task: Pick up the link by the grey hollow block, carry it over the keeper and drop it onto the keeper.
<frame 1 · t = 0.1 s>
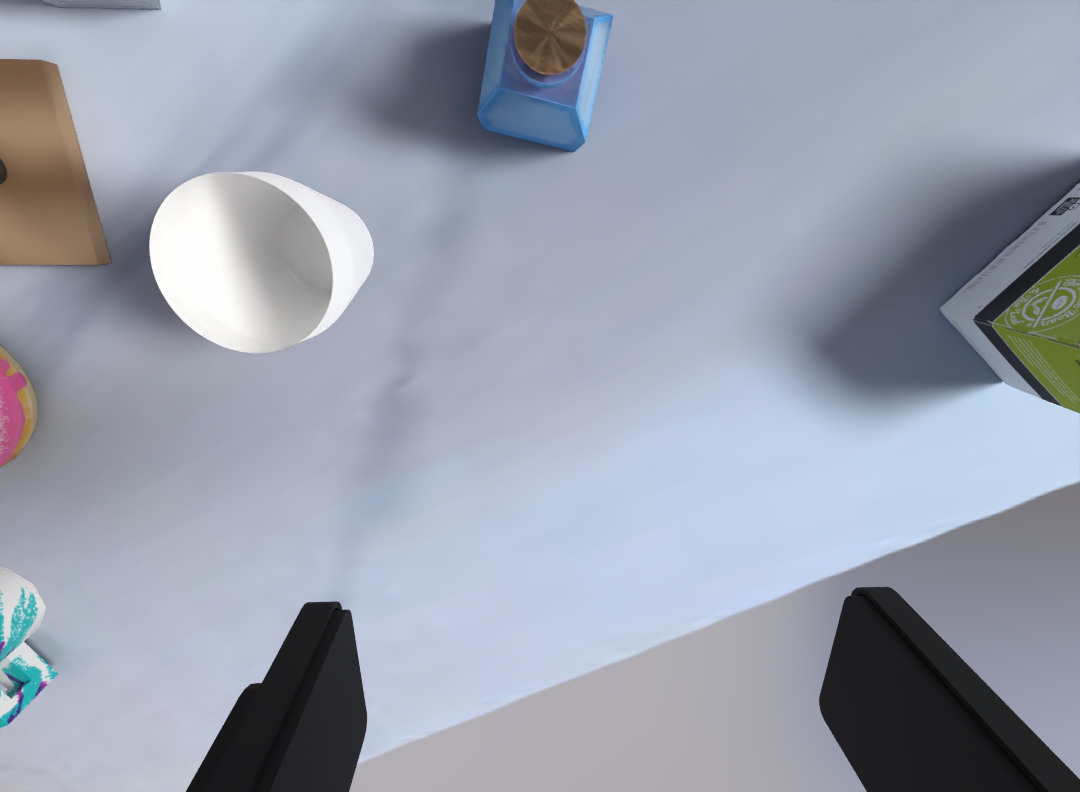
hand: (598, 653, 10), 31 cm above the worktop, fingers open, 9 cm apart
perfume bottle: (539, 90, 34), on the worktop
mug: (15, 616, 47), on the worktop
keeper: (7, 169, 34), on the worktop
tea box: (1046, 275, 40), on the worktop
cup: (327, 248, 37), on the worktop
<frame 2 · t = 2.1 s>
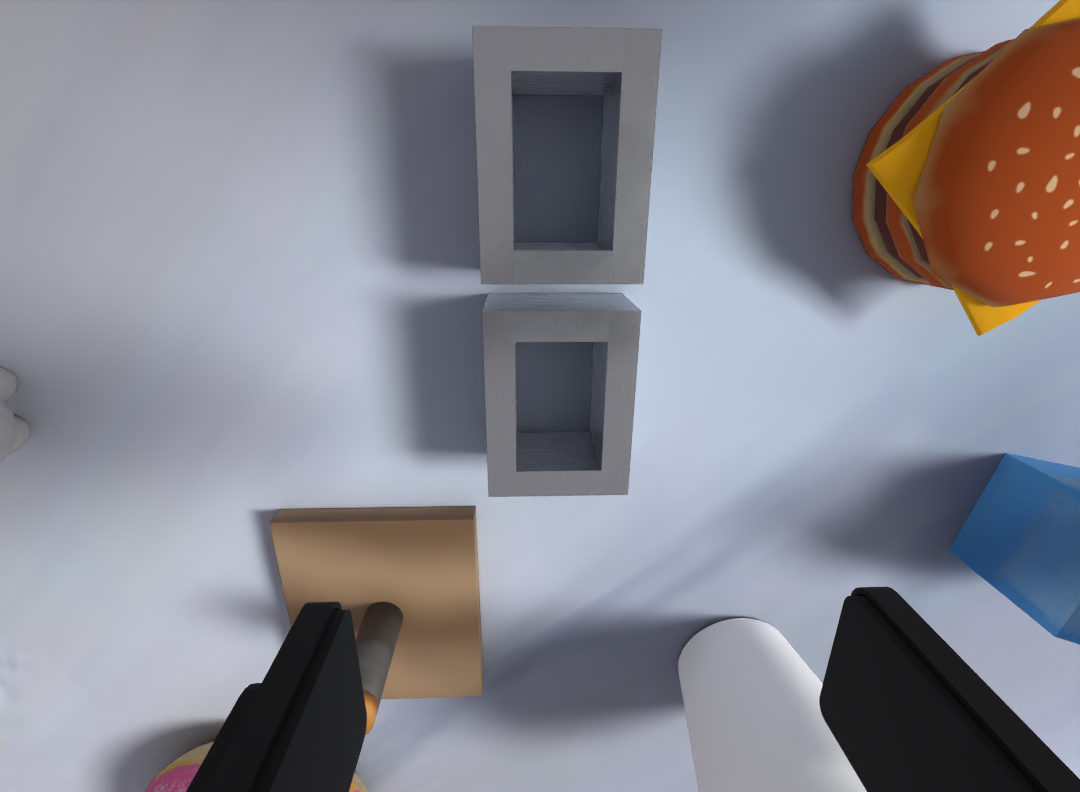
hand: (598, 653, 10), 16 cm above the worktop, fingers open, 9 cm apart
perfume bottle: (1022, 510, 29), on the worktop
grey hollow block: (557, 172, 22), on the worktop
donut: (275, 781, 34), on the worktop
hamburger: (950, 174, 22), on the worktop
link: (554, 377, 25), on the worktop
keeper: (389, 600, 29), on the worktop
figurine: (21, 400, 24), on the worktop
cup: (730, 656, 32), on the worktop
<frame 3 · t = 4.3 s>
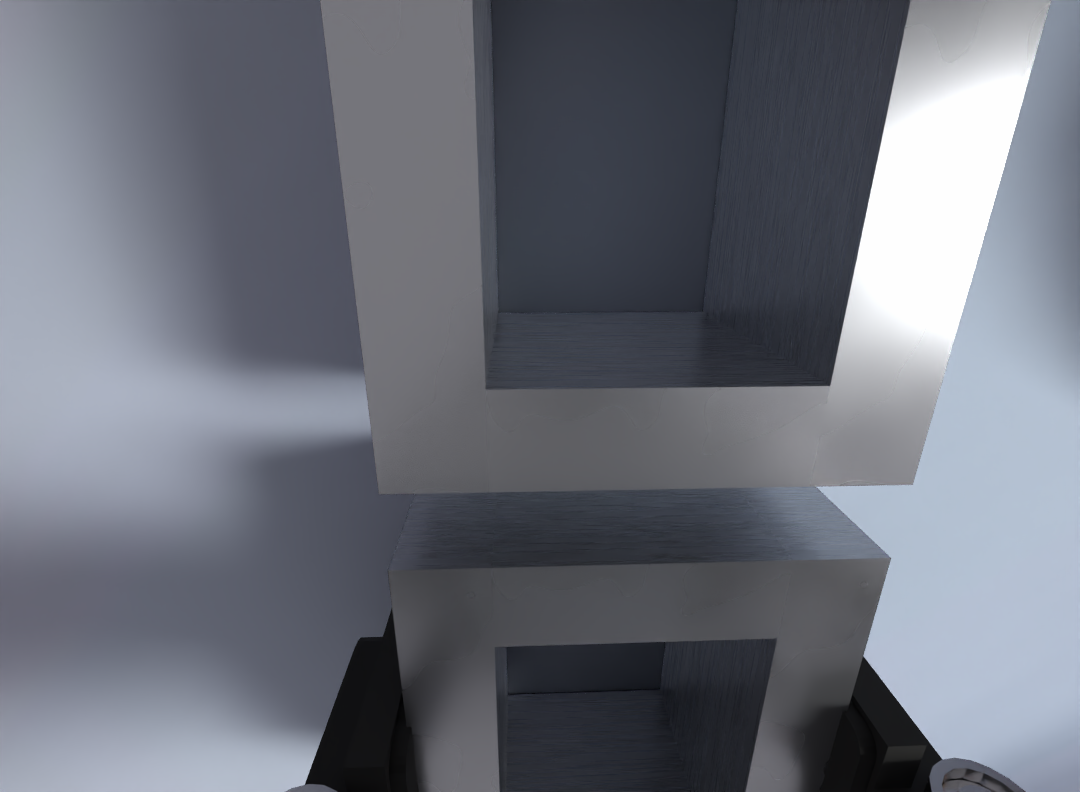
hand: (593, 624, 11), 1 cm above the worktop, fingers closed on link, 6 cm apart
grey hollow block: (609, 134, 8), on the worktop
link: (588, 596, 11), on the worktop, touching gripper
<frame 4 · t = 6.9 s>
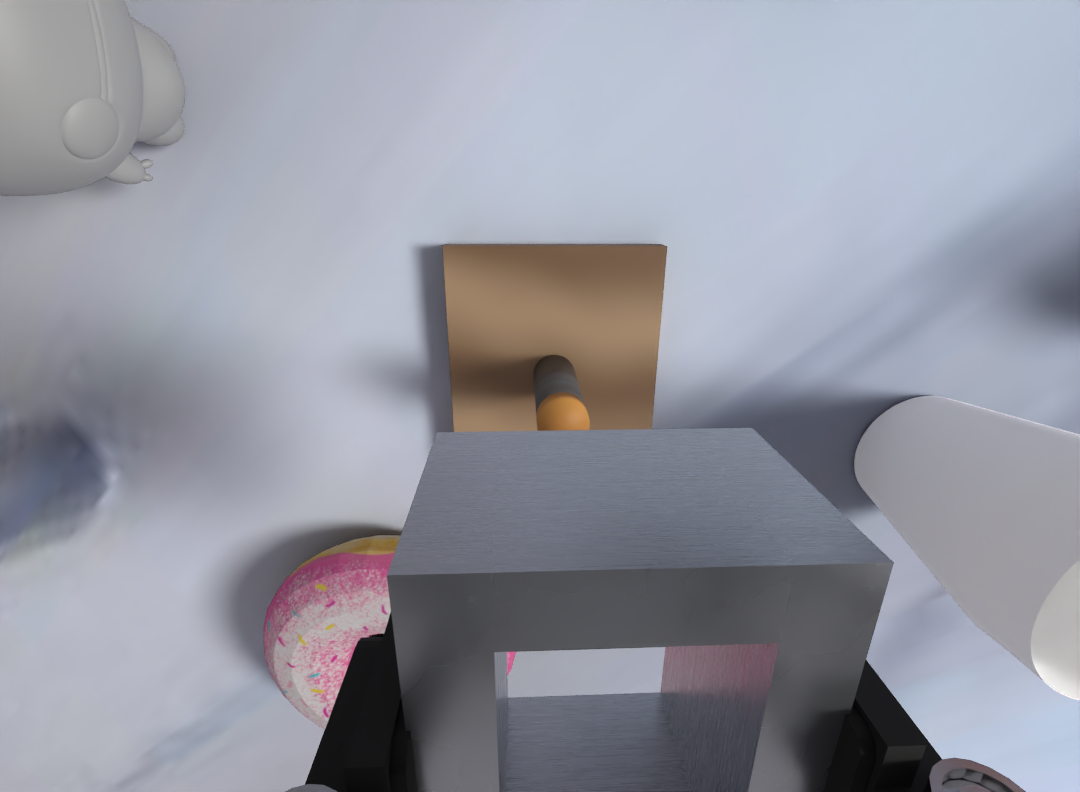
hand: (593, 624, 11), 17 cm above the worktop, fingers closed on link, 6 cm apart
donut: (401, 605, 32), on the worktop
link: (588, 599, 11), point 16 cm above the worktop, touching gripper
keeper: (552, 367, 26), on the worktop
figurine: (174, 94, 22), on the worktop
cup: (909, 448, 29), on the worktop
when the fingers open (3 cm above the worktop, at t = 9.5 s): link drops 1 cm, resting on keeper.
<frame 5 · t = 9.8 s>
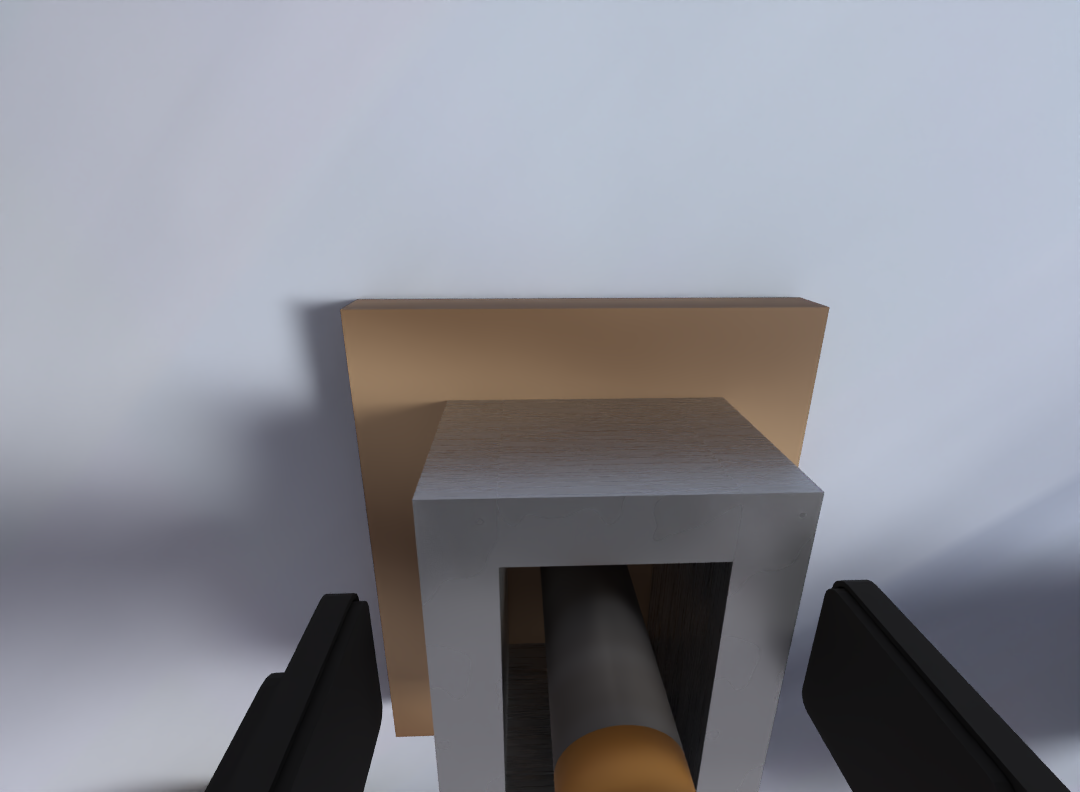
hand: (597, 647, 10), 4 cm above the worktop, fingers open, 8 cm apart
link: (581, 552, 13), point 1 cm above the worktop, touching keeper
keeper: (575, 525, 14), on the worktop
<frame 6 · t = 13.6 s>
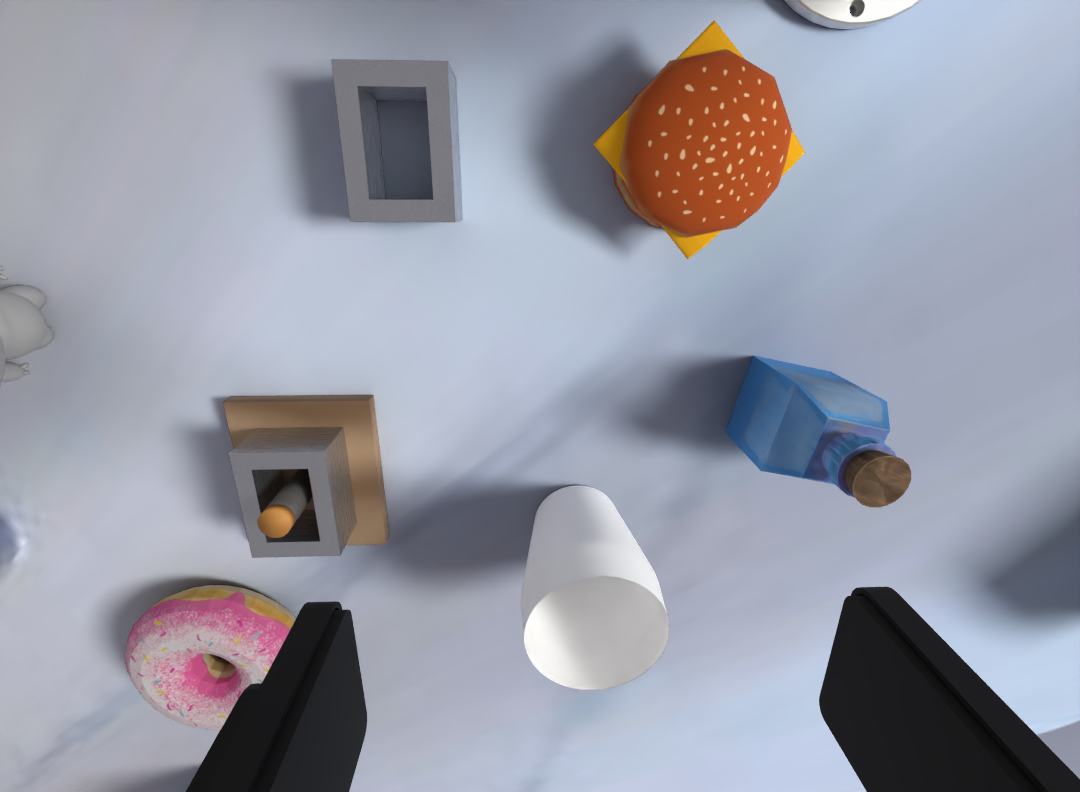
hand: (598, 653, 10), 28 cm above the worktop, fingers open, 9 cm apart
perfume bottle: (776, 401, 39), on the worktop
grey hollow block: (410, 151, 32), on the worktop
donut: (236, 631, 45), on the worktop
hamburger: (680, 154, 33), on the worktop
link: (309, 477, 38), point 1 cm above the worktop, touching keeper
keeper: (315, 469, 40), on the worktop
figurine: (47, 313, 35), on the worktop
cup: (575, 518, 42), on the worktop
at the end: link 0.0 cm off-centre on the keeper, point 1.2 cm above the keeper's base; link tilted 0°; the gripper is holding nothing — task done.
